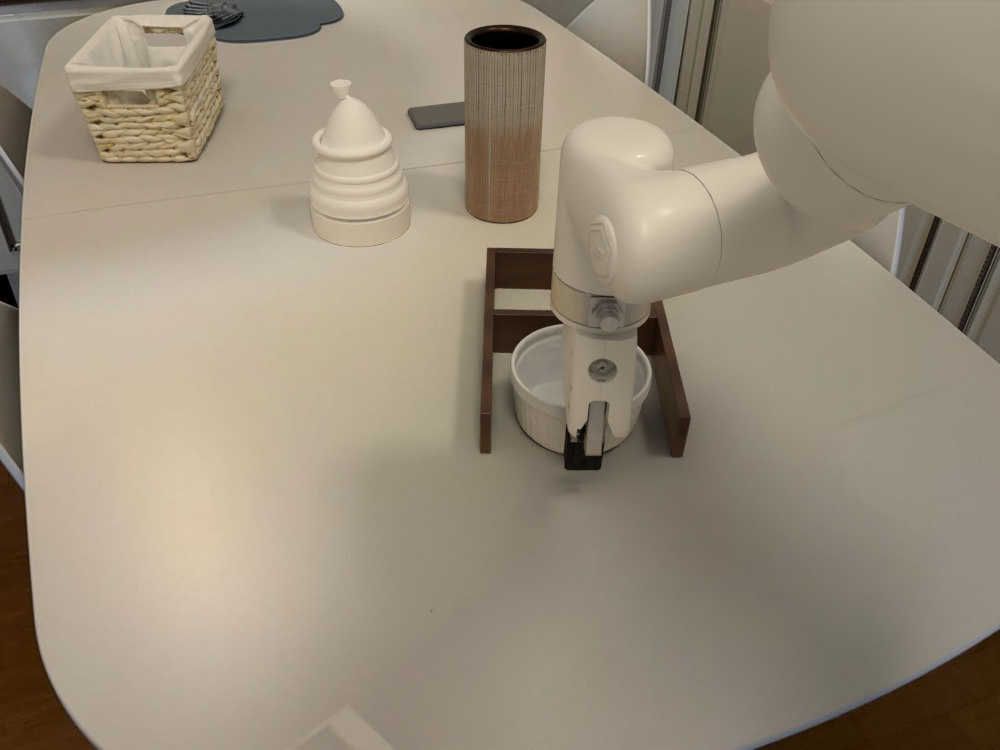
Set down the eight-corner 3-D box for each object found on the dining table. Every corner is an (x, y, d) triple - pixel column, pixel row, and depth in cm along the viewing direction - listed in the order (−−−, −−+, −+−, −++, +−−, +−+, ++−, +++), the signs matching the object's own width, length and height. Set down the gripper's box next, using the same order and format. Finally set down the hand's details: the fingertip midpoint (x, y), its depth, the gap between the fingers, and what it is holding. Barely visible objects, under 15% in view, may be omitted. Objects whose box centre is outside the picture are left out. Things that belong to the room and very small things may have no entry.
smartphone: (406, 107, 141) (493, 97, 145) (407, 113, 142) (493, 103, 145) (416, 125, 136) (506, 114, 139) (417, 131, 136) (506, 120, 140)
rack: (682, 457, 80) (691, 417, 77) (479, 453, 80) (480, 413, 77) (644, 286, 102) (650, 250, 99) (486, 283, 102) (486, 247, 99)
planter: (551, 215, 116) (561, 43, 101) (484, 230, 112) (485, 55, 98) (517, 184, 123) (523, 19, 108) (453, 197, 119) (450, 29, 105)
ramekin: (669, 417, 84) (680, 362, 80) (588, 489, 76) (595, 432, 72) (564, 360, 91) (569, 306, 87) (480, 421, 83) (480, 365, 79)
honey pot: (294, 218, 114) (274, 84, 102) (374, 190, 120) (364, 61, 109) (347, 257, 106) (332, 118, 95) (430, 225, 113) (425, 91, 101)
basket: (201, 167, 125) (178, 66, 116) (87, 168, 124) (56, 66, 115) (232, 104, 143) (215, 13, 134) (134, 104, 143) (110, 12, 133)
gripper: (667, 351, 57) (634, 530, 69) (639, 238, 69) (615, 408, 81) (556, 350, 57) (542, 529, 69) (546, 236, 69) (536, 406, 81)
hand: (581, 463), depth 75 cm, fingers closed
